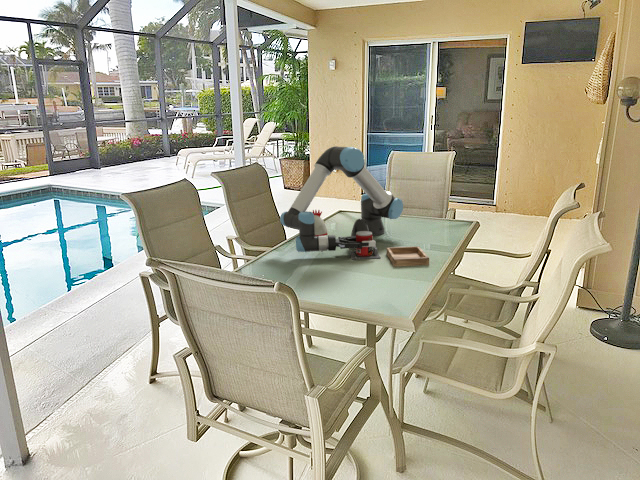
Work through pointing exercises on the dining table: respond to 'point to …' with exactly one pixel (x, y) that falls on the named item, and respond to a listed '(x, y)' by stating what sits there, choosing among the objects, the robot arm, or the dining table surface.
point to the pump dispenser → (359, 226)
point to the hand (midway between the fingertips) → (374, 241)
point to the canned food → (364, 237)
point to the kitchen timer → (319, 224)
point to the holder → (365, 257)
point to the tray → (407, 256)
